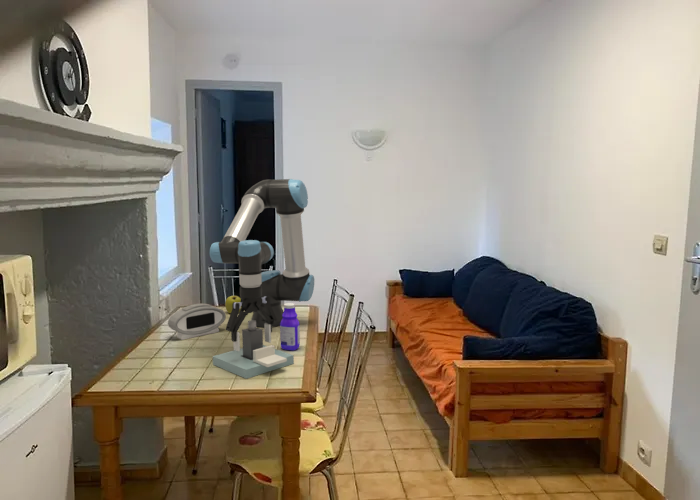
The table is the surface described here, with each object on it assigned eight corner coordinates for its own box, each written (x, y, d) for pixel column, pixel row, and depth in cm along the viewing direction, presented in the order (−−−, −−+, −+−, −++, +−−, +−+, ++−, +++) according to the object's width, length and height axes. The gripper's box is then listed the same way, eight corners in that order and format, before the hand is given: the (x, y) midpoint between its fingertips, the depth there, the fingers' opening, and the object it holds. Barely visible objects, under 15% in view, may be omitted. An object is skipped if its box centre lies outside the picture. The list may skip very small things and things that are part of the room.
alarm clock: (175, 341, 221) (173, 310, 220) (168, 338, 226) (166, 308, 224) (226, 330, 237) (225, 301, 235) (219, 327, 241) (218, 299, 240)
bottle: (302, 347, 213) (301, 302, 210) (296, 351, 207) (294, 306, 205) (284, 345, 215) (283, 301, 213) (278, 349, 210) (277, 304, 207)
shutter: (272, 356, 193) (271, 344, 192) (286, 361, 187) (286, 349, 187) (253, 361, 187) (252, 350, 187) (267, 367, 182) (267, 355, 181)
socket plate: (259, 351, 208) (259, 343, 208) (293, 363, 194) (293, 355, 194) (212, 364, 194) (212, 356, 194) (246, 378, 180) (245, 369, 180)
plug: (255, 359, 198) (253, 318, 196) (263, 362, 194) (262, 321, 192) (243, 363, 194) (241, 321, 192) (251, 366, 191) (250, 323, 189)
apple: (226, 308, 271) (231, 289, 270) (241, 313, 271) (246, 294, 269) (220, 312, 264) (226, 293, 262) (236, 317, 263) (241, 298, 261)
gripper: (272, 279, 202) (274, 336, 205) (213, 289, 184) (216, 351, 187) (285, 281, 197) (287, 340, 200) (226, 292, 179) (228, 356, 182)
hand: (252, 346), depth 193 cm, fingers open, 12 cm apart
